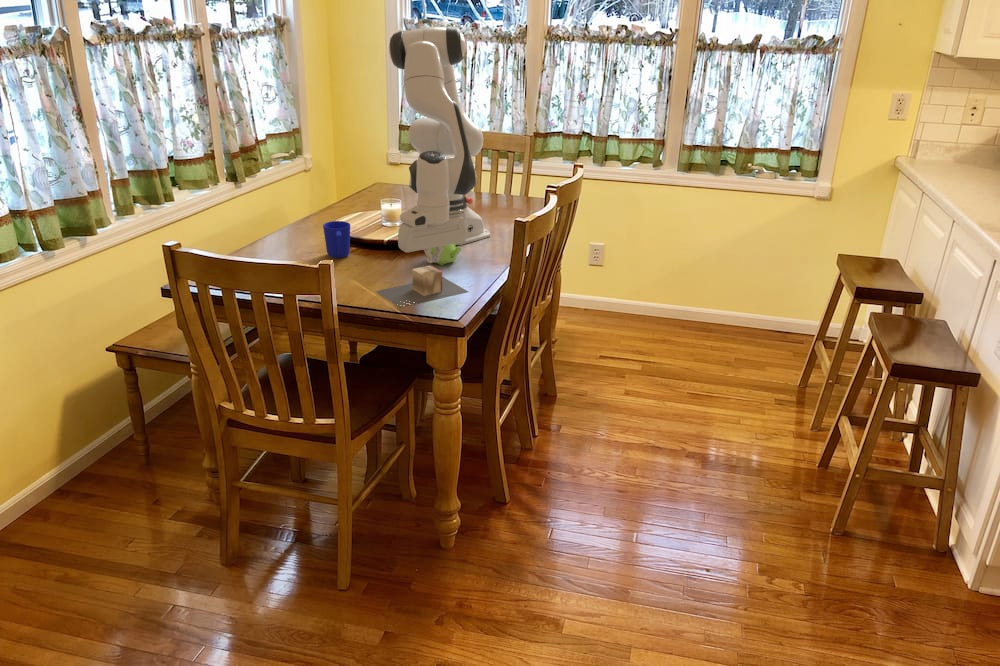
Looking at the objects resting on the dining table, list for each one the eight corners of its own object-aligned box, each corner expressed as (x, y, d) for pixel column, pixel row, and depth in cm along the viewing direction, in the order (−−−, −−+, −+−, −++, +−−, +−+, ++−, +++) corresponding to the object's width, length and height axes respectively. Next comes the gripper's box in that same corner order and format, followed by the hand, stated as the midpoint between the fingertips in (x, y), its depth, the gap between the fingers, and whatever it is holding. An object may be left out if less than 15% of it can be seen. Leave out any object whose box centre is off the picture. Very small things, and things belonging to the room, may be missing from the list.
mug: (327, 264, 243) (325, 233, 239) (324, 252, 254) (322, 221, 249) (354, 263, 245) (352, 231, 241) (350, 250, 256) (348, 220, 251)
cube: (430, 265, 226) (412, 269, 223) (442, 271, 222) (423, 275, 219) (430, 285, 229) (412, 289, 226) (442, 291, 224) (423, 295, 221)
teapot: (423, 256, 252) (422, 230, 249) (459, 256, 253) (459, 230, 250) (423, 268, 242) (422, 242, 239) (461, 268, 243) (461, 242, 240)
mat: (442, 278, 235) (442, 276, 235) (468, 293, 225) (468, 291, 225) (375, 292, 224) (375, 291, 223) (399, 309, 213) (399, 307, 213)
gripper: (459, 205, 225) (458, 252, 231) (394, 215, 214) (395, 264, 220) (471, 210, 220) (470, 258, 226) (406, 221, 209) (407, 271, 215)
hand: (433, 261), depth 223 cm, fingers closed
